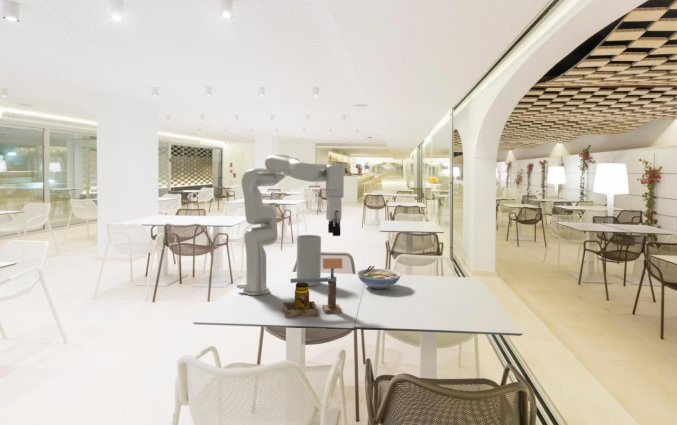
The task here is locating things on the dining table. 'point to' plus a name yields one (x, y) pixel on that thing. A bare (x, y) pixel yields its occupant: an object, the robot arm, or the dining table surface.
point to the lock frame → (329, 308)
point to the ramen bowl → (378, 277)
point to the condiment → (301, 297)
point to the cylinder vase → (309, 257)
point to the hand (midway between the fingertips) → (334, 234)
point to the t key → (327, 264)
